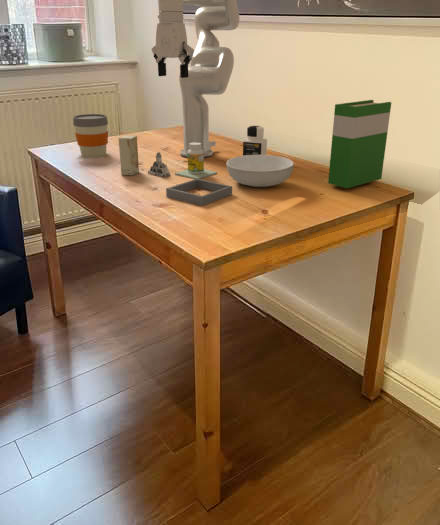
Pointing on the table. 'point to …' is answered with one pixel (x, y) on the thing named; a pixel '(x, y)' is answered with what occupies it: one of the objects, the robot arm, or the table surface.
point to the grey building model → (159, 167)
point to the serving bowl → (259, 169)
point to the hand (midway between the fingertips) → (173, 76)
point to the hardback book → (358, 142)
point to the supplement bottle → (195, 158)
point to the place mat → (195, 176)
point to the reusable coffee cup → (91, 134)
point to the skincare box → (128, 155)
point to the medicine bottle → (255, 141)
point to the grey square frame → (181, 194)
